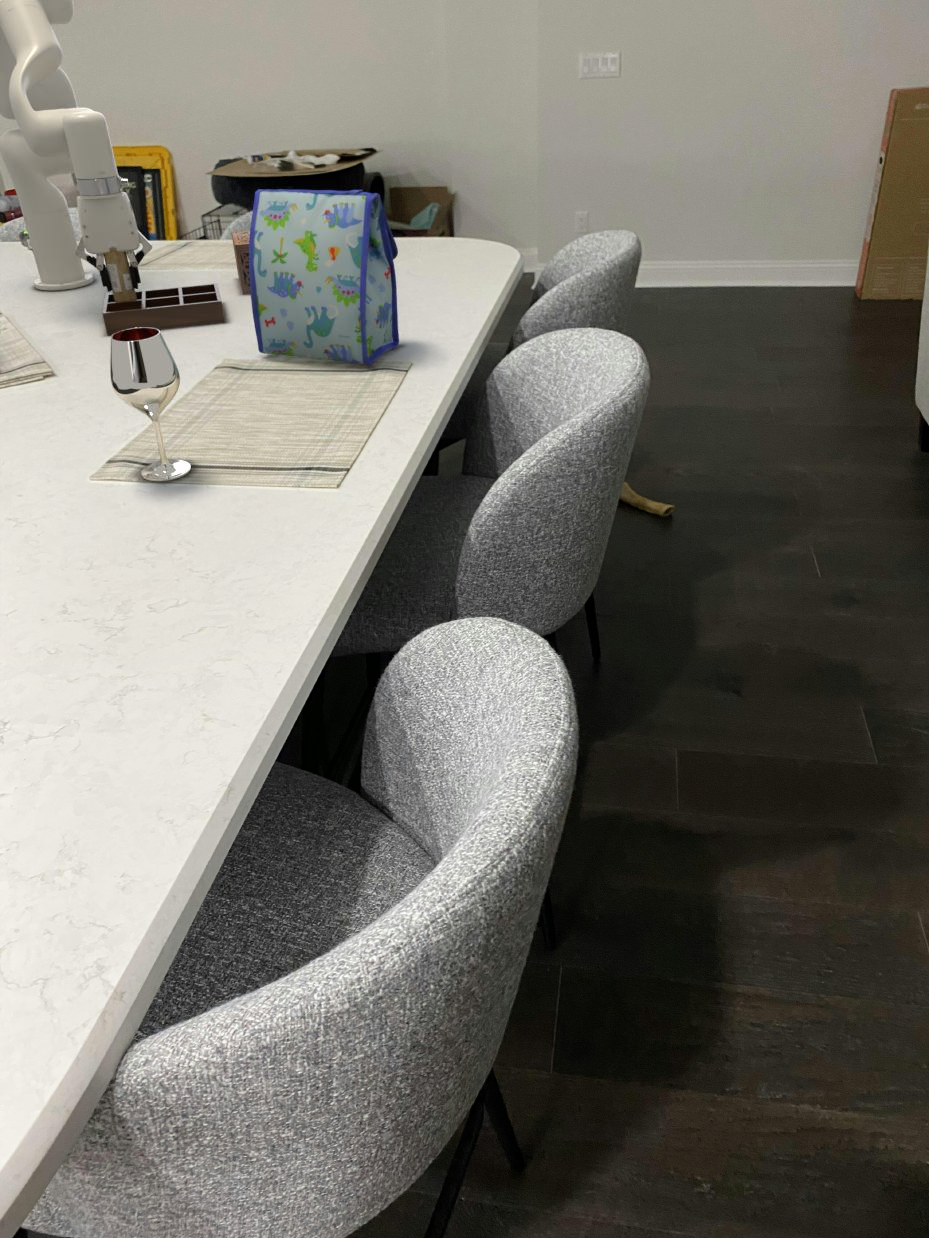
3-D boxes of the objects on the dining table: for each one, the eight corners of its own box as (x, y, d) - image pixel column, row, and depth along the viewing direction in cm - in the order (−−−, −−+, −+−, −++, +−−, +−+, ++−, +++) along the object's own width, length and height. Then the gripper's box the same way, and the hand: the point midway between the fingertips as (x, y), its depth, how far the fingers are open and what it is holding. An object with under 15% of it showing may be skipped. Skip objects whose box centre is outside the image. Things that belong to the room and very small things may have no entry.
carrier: (110, 315, 187) (105, 294, 185) (220, 303, 192) (217, 283, 189) (107, 335, 175) (102, 313, 173) (225, 322, 180) (221, 301, 177)
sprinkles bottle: (142, 306, 183) (125, 234, 175) (118, 310, 181) (101, 237, 173) (135, 301, 186) (118, 230, 178) (112, 306, 184) (95, 234, 176)
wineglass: (141, 460, 125) (109, 326, 115) (202, 456, 125) (175, 323, 116) (128, 486, 118) (92, 346, 108) (193, 482, 119) (163, 342, 109)
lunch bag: (408, 340, 166) (398, 182, 151) (371, 370, 153) (355, 200, 138) (298, 333, 172) (278, 179, 158) (253, 361, 159) (226, 197, 145)
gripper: (146, 181, 176) (167, 280, 186) (53, 188, 173) (79, 289, 183) (146, 186, 170) (167, 289, 180) (50, 194, 167) (77, 298, 177)
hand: (122, 287), depth 181 cm, fingers closed on sprinkles bottle, 4 cm apart
